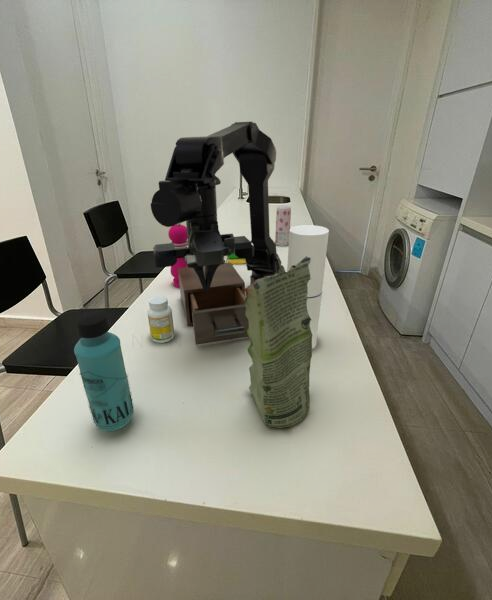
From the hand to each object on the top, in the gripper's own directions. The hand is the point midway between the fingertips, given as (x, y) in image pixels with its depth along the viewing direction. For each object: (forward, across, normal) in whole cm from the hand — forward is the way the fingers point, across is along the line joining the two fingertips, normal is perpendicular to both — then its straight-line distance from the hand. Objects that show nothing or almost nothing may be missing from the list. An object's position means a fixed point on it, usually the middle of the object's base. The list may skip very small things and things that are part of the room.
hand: (206, 291), depth 67 cm
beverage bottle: (+13, -19, -18) cm, 29 cm away
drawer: (+12, +4, +4) cm, 13 cm away
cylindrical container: (+13, +19, -4) cm, 24 cm away
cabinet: (+13, +4, +16) cm, 21 cm away
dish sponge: (+13, +21, +53) cm, 58 cm away
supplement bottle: (+13, -10, +6) cm, 18 cm away
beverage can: (+13, +43, +62) cm, 77 cm away
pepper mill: (+13, -1, +35) cm, 37 cm away
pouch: (+13, +8, -20) cm, 25 cm away
